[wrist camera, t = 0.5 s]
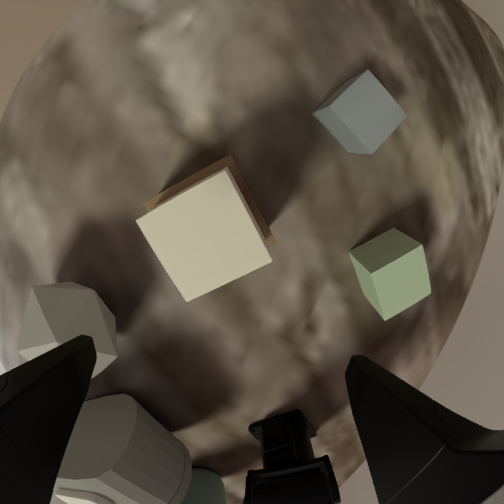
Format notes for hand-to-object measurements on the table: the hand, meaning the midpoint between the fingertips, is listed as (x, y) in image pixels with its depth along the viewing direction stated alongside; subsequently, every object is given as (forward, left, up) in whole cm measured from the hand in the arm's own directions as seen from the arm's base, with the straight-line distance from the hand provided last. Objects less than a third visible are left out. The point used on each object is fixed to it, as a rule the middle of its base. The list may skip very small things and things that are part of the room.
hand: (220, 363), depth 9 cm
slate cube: (+4, -12, -14) cm, 19 cm away
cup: (-30, +22, -14) cm, 39 cm away
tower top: (+2, 0, -10) cm, 10 cm away
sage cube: (-8, -10, -14) cm, 19 cm away
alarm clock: (-14, +25, -14) cm, 31 cm away
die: (0, +15, -14) cm, 20 cm away
